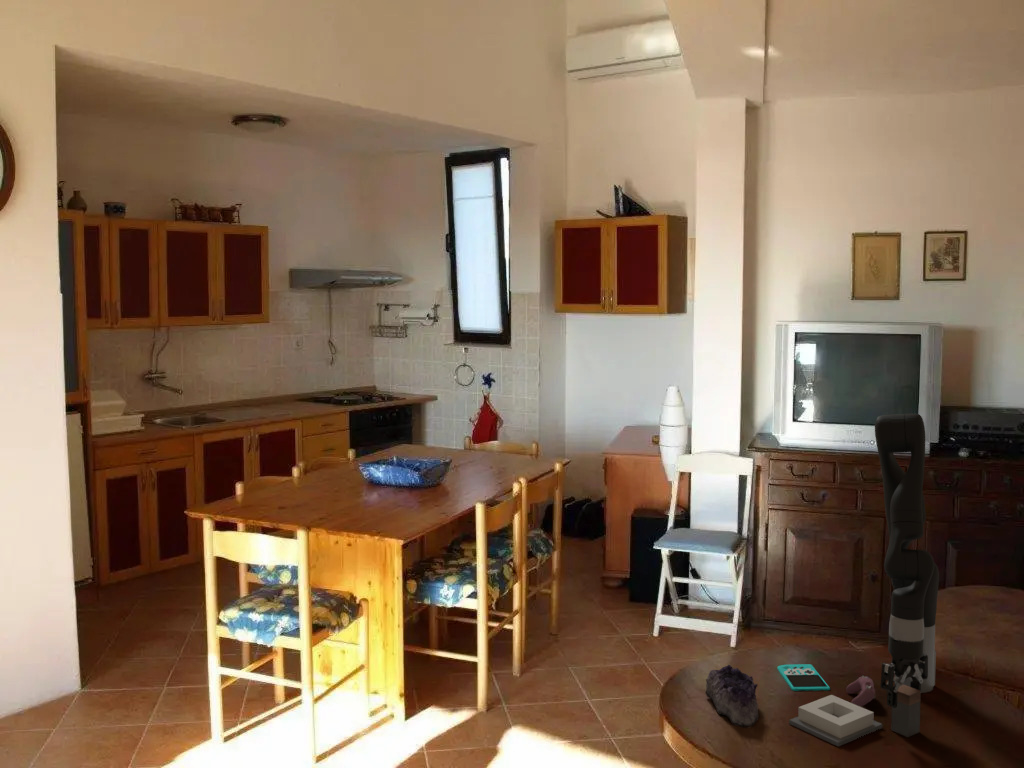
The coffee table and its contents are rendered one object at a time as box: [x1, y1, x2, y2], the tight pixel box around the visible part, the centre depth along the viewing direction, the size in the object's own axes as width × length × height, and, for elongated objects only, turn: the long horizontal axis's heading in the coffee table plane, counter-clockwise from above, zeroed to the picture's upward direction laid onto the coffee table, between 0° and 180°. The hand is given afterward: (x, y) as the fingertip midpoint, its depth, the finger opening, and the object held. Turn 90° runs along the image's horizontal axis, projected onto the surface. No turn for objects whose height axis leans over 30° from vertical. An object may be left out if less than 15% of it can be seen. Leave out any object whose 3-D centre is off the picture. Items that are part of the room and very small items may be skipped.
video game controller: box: [845, 675, 876, 708], centre depth 244 cm, size 10×5×7 cm, turn 169°
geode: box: [704, 664, 760, 728], centre depth 240 cm, size 20×12×10 cm, turn 6°
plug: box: [890, 685, 922, 738], centre depth 228 cm, size 4×4×10 cm
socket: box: [788, 694, 883, 747], centre depth 231 cm, size 16×14×4 cm
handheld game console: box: [776, 663, 831, 692], centre depth 259 cm, size 10×16×1 cm, turn 0°
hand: (903, 702), depth 227 cm, fingers open, 8 cm apart
